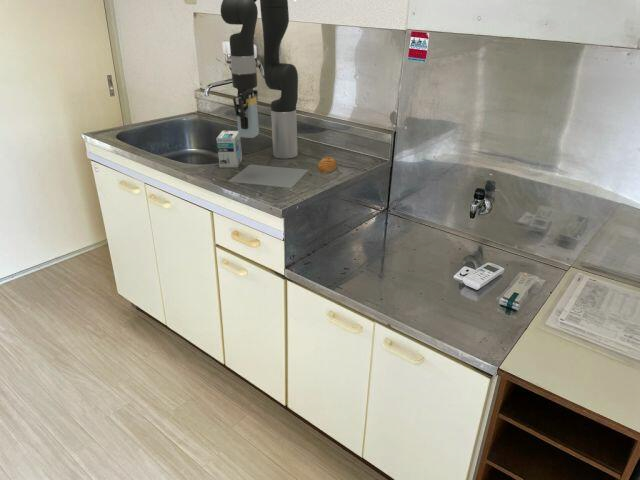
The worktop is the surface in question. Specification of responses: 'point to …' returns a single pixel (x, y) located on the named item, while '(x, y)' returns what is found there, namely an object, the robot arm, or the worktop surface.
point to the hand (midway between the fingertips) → (248, 126)
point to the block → (250, 120)
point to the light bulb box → (229, 149)
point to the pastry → (327, 165)
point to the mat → (269, 176)
